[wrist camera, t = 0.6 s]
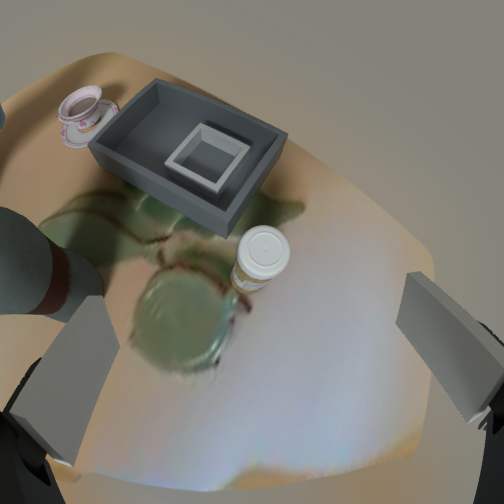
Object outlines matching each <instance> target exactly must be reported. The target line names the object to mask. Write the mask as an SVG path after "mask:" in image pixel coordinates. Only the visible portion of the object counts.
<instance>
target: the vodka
mask: <svg viewBox="0 0 504 504" xmlns="http://www.w3.org/2000/svg"><path fill="white" fill-rule="evenodd" d="M87 296H103V283H102V280H101V278H100V275H99V273H98V271H97V270H96V269H95V267H94V266H93V265H92V264H91V263H90V262H89V261H88V260H87V259H86V258H85V257H83V256H82V255H80V254H79V253H77V252H74V251H71V250H68V249H65V248H62V247H59V246H57V245H56V244H55V243H54V242H52V241H51V240H50V239H49V238H48V237H46V236H45V235H44V234H43V233H42V232H41V231H40V230H39V229H38V228H37V227H36V226H35V225H34V224H33V223H32V222H30V221H29V220H28V219H27V218H26V217H24V216H22V215H20V214H18V213H16V212H14V211H12V210H10V209H8V208H4V207H0V314H1V315H4V314H34V315H44V316H47V317H50V318H52V319H55V320H58V321H61V322H64V323H66V322H68V321H69V319H70V318H71V317H72V315H73V314H74V313H75V312H76V310H77V309H78V308H79V306H80V305H81V304H82V303H83V301H84V300H85V299H86V297H87Z"/></svg>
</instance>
